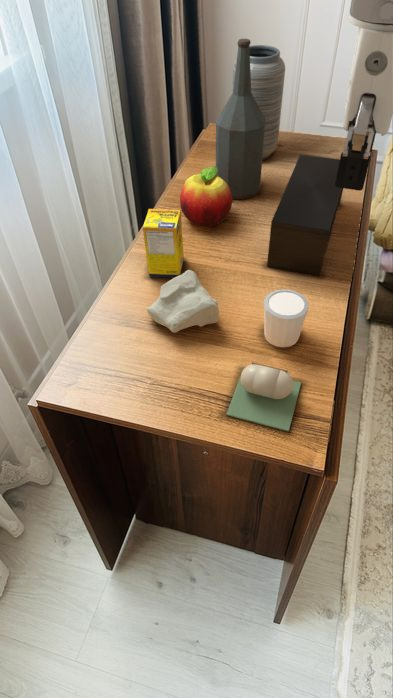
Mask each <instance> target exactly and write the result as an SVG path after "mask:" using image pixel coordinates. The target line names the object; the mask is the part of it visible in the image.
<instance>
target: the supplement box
mask: <svg viewBox="0 0 393 698" xmlns="http://www.w3.org/2000/svg"><path fill="white" fill-rule="evenodd" d="M142 231H143V240H144V249H145V255H146V264H147V272H148V276H149V277H151V278H175V277H177V276H179V275H182V269H183V265H184V260H185V259H184V258H185V257H184V241H183V239H184V238H183V225H182V210H181V209H162V208H161V209H160V208H159V209H158V208H148V210H147V214H146V216H145V220H144V222H143V226H142Z"/></svg>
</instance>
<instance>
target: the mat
mask: <svg viewBox="0 0 393 698" xmlns="http://www.w3.org/2000/svg"><path fill="white" fill-rule="evenodd" d="M244 369H245V368H242V371H241V373H240V376H239V378H238V381H237V384H236V387H235V390H234V392H233V394H232V399H231V401H230V402H229V406H228V408H227V411H226V416H228V417H231V418H235V419H239V420H242V421H245V422H250V423H253V424H258V425H261V426H265V427H269V428H272V429H276V430H280V431H284V432H290V428H291V425H292V422H293V421H292V420H293V417H294V413H295V409H296V405H297V402H298V397H299V394H300V390H301V386H302V382H300V381H296V380H293V389H292V391H291V393H290V394H289V395H288V396H287V397H285V398H283V399H272V398H268V397H264V396H261V395H257V394H253V393H250V392H248V391H246V390H245V389H244V387H243V386H242V383H241V374H242V372H243V370H244Z"/></svg>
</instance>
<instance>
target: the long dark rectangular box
mask: <svg viewBox="0 0 393 698" xmlns="http://www.w3.org/2000/svg"><path fill="white" fill-rule="evenodd" d="M339 162H340V158H333V157H332V158H331V157H325V156H318V155H309V154H303V153H302V154H301V153H300V154H299V156H298V158H297V161H296V163H295V166H294V168H293V170H292V172H291V175H290V177H289V179H288V182H287V184H286V186H285V189H284V192H283V194H282V195H281V198H280V200H279V202H278V205H277V208H276V209H275V212H274V214H273V217H272V218H271V222H270V233H269V243H268V253H267V260H266V261H267V262H266V267H267V268H271V269H277V270H282V271H287V272H292V273H297V274H303V275H309V276H313V277H319V278H320V277H321V275H322V272H323V271H322V270H323V265H324V260H325V256H326V253H327V249H328V245H329V241H330V239H331V235H332V232H333V228H334V223H335V221H336V217H337V213H338V209H339V207H340V206H341V202H342V198H343V197H342V196H343V192H344V188H338V187H336V186H335V182H336V177H337V172H338V167H339Z"/></svg>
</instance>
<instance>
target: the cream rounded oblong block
mask: <svg viewBox="0 0 393 698" xmlns="http://www.w3.org/2000/svg"><path fill="white" fill-rule="evenodd" d="M243 369H244V370H243ZM243 369H242V370H243V372H242V371H241V373H242V374H241V373H240V376H241V383H242V386H243V387H244V389H245V390H246V391H248V392H250V393H253V394H257V395H261V396H264V397H268V398H272V399H283V398H285V397H287V396H288V395H289V394H290V393H291V391H292V389H293V381H294V380H293V377H292V375H291V374H290V373H289V370H287V369H283V368H279V367H275V366H270V365H266V364H261V363H258V362H254V361H252V362H251V364H248V365H247V366H245V367H244V368H243Z"/></svg>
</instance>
